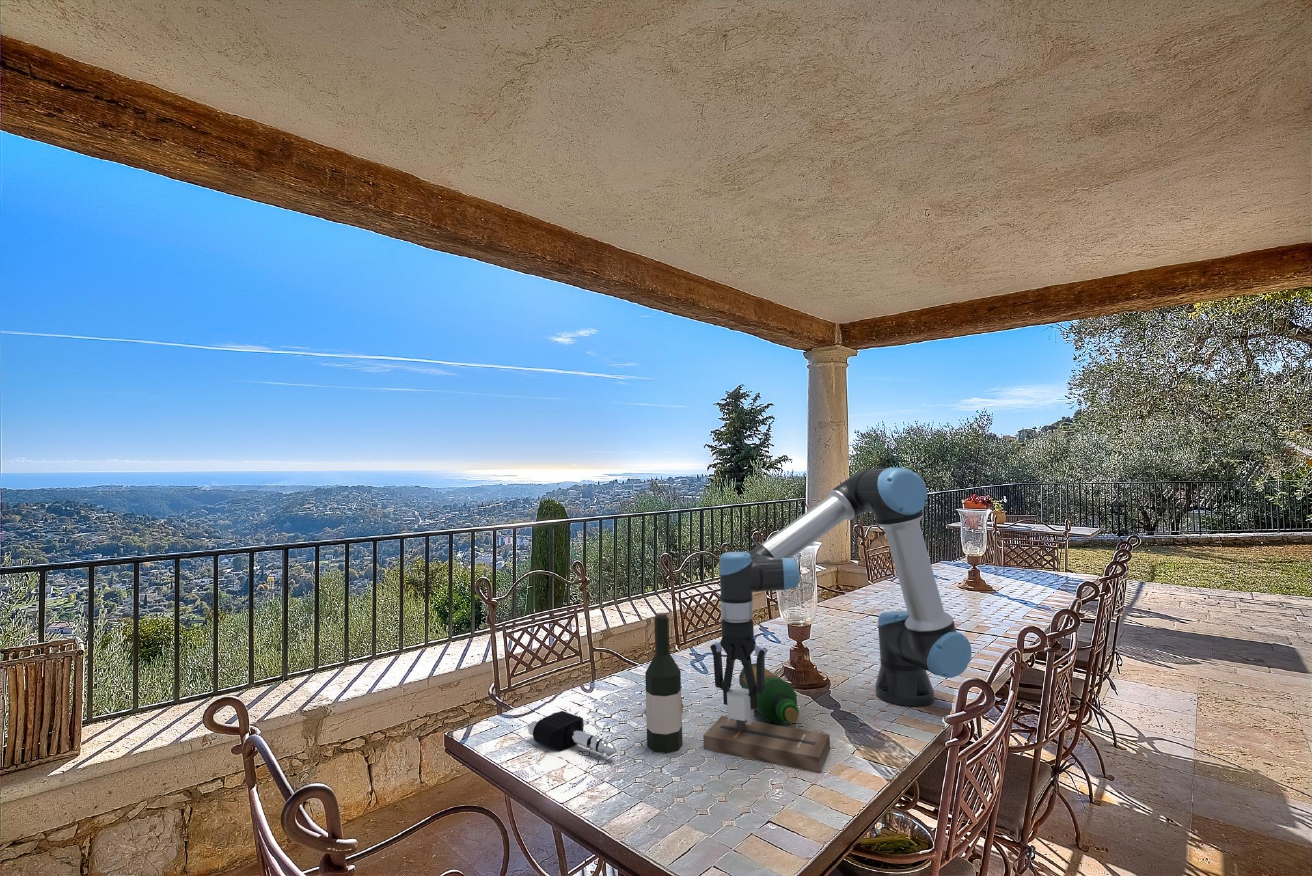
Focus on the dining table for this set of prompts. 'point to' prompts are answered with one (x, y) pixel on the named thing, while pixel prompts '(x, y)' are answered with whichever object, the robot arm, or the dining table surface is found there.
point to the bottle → (774, 698)
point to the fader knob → (738, 707)
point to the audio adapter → (567, 733)
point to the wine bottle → (663, 694)
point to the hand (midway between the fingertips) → (740, 720)
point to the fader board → (769, 743)
